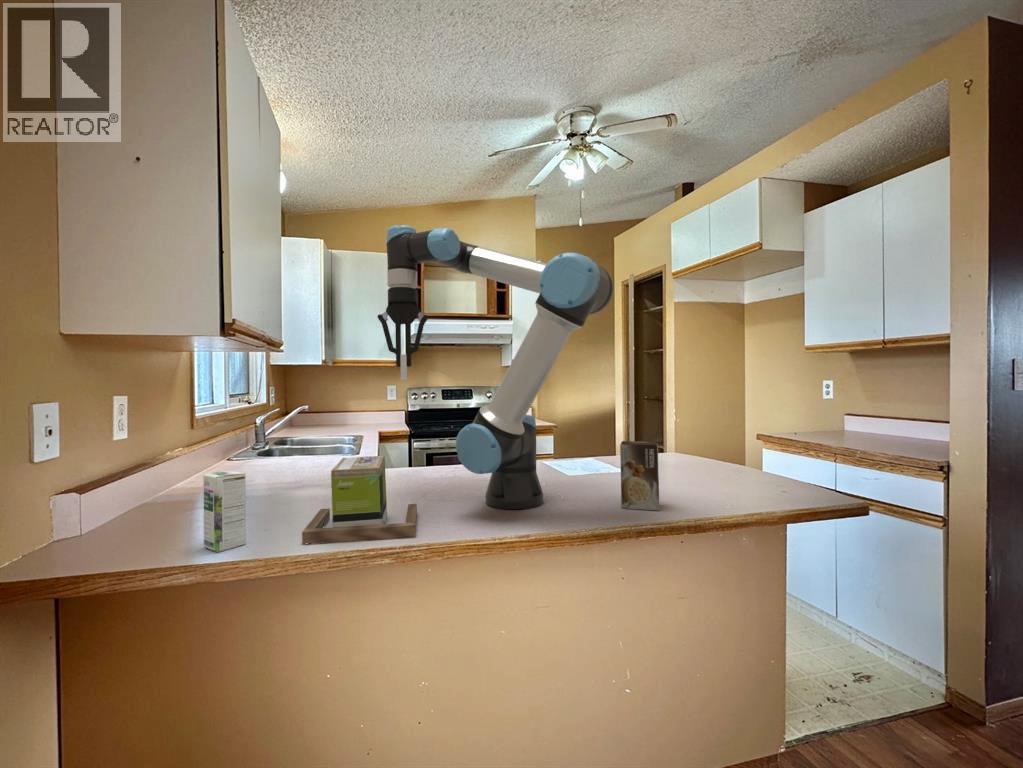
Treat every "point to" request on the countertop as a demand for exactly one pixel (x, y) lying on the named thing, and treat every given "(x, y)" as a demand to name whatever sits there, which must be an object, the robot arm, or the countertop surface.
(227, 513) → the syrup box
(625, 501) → the coffee box
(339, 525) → the tea box
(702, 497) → the countertop surface
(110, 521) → the countertop surface
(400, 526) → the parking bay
